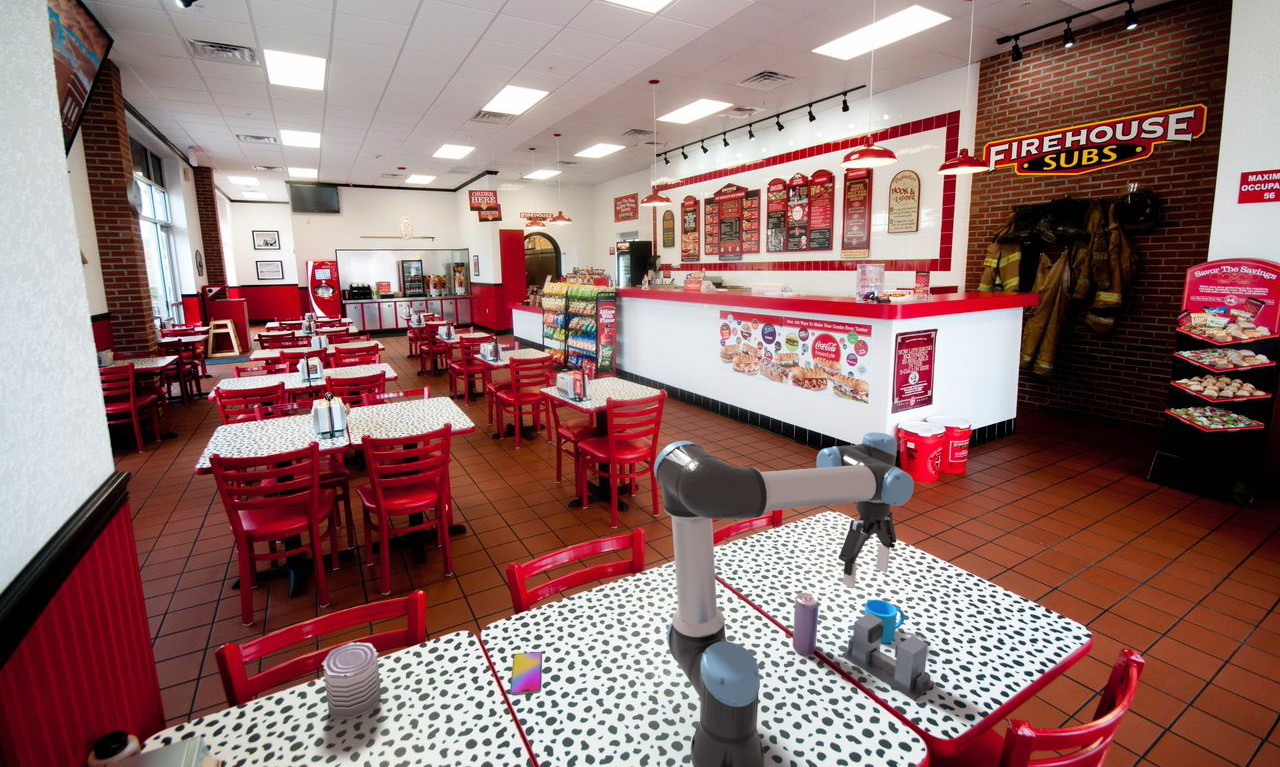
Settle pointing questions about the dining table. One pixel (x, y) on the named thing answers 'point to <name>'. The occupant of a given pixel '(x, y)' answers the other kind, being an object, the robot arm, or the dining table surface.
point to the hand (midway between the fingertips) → (865, 578)
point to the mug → (885, 617)
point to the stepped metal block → (910, 661)
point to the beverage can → (805, 623)
